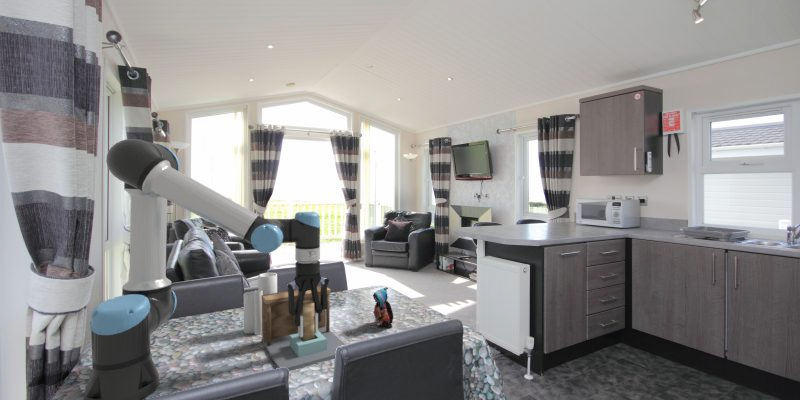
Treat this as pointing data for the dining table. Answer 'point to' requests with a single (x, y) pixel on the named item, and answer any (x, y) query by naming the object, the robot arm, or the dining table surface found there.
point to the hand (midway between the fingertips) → (308, 333)
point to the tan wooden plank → (287, 314)
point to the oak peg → (308, 320)
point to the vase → (257, 302)
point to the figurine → (382, 309)
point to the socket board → (291, 357)
